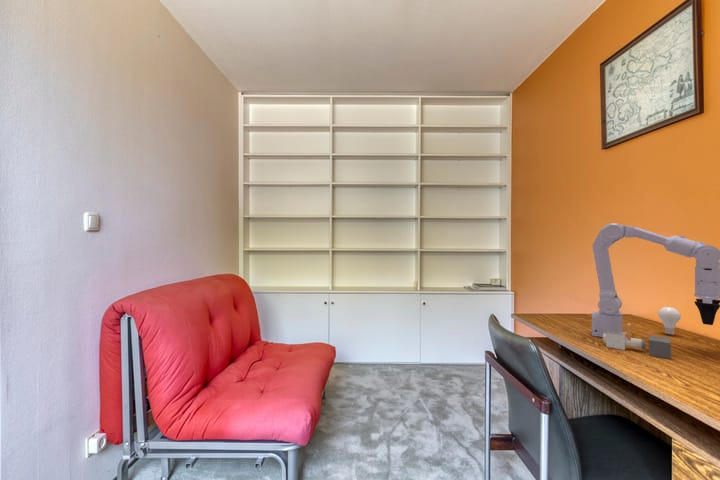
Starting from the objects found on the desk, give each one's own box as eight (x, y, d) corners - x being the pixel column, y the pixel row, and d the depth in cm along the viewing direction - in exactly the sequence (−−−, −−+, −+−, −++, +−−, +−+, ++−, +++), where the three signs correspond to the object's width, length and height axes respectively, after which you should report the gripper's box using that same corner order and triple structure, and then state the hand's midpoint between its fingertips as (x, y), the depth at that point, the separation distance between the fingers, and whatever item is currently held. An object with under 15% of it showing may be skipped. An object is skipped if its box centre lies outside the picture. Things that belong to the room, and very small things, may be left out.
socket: (649, 355, 100) (648, 339, 100) (649, 349, 105) (648, 335, 105) (671, 359, 97) (670, 343, 97) (669, 353, 102) (669, 338, 102)
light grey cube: (606, 347, 108) (606, 332, 109) (607, 343, 112) (607, 329, 112) (625, 350, 105) (624, 335, 105) (625, 346, 109) (625, 332, 109)
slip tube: (602, 343, 110) (602, 321, 110) (603, 340, 112) (603, 320, 112) (645, 350, 102) (644, 327, 102) (645, 347, 105) (644, 325, 105)
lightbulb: (686, 337, 119) (685, 308, 119) (669, 337, 119) (668, 308, 119) (669, 332, 125) (669, 305, 125) (653, 332, 125) (653, 305, 125)
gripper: (726, 284, 95) (727, 329, 95) (725, 280, 104) (726, 320, 104) (692, 282, 100) (693, 324, 100) (694, 278, 109) (695, 317, 109)
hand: (708, 322), depth 102 cm, fingers open, 7 cm apart
